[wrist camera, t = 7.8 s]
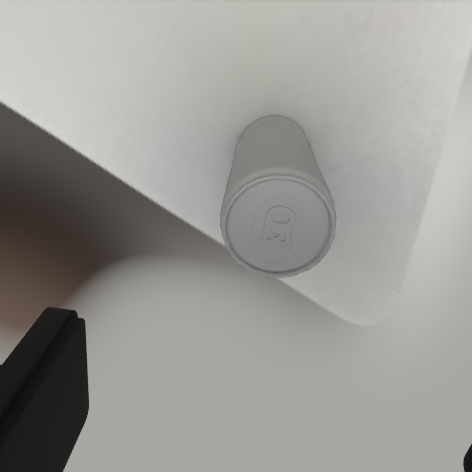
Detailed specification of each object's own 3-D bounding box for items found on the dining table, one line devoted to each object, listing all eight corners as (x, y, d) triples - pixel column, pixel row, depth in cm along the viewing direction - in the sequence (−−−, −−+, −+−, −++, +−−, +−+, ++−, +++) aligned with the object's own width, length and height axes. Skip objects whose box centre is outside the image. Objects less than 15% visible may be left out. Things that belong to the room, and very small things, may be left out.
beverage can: (231, 179, 28) (211, 271, 18) (241, 108, 26) (226, 162, 15) (301, 190, 28) (323, 288, 18) (317, 119, 26) (353, 182, 16)
